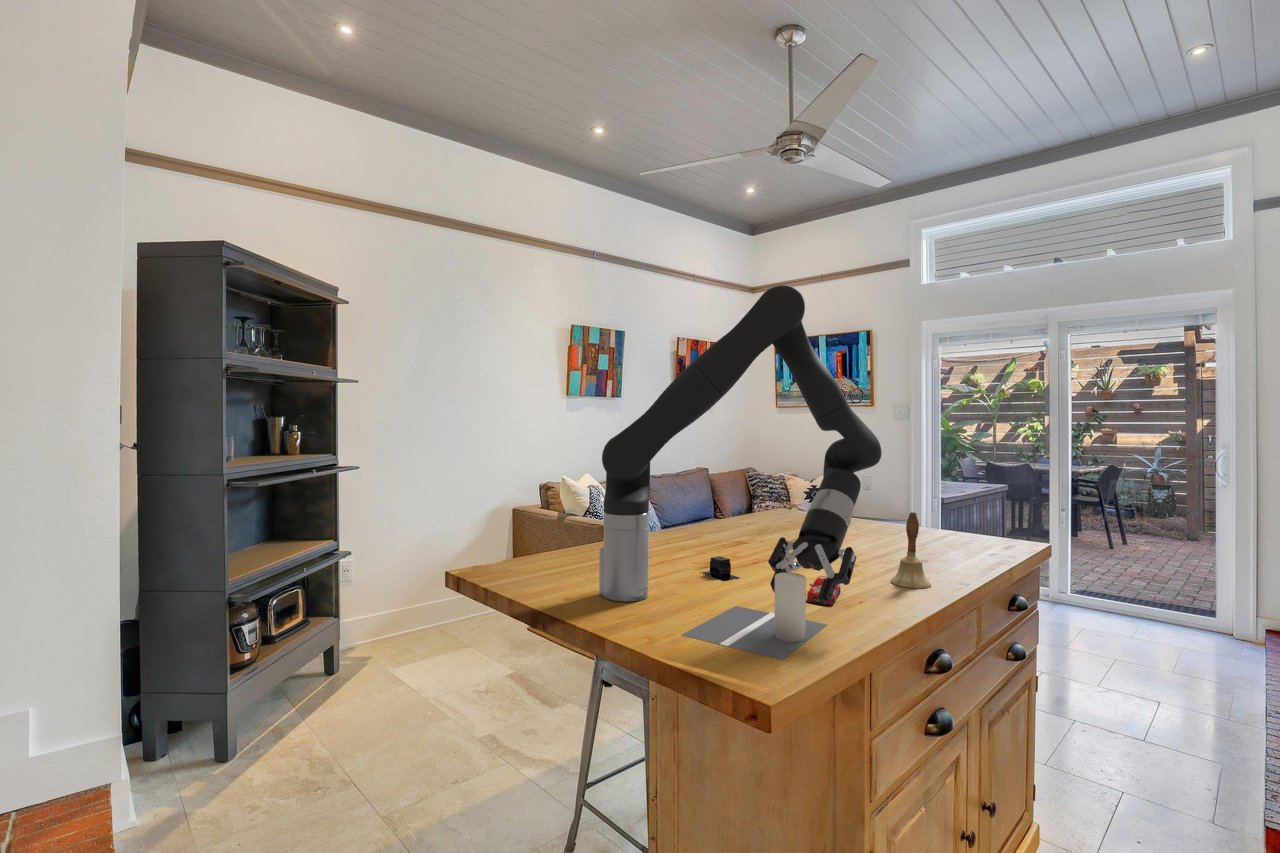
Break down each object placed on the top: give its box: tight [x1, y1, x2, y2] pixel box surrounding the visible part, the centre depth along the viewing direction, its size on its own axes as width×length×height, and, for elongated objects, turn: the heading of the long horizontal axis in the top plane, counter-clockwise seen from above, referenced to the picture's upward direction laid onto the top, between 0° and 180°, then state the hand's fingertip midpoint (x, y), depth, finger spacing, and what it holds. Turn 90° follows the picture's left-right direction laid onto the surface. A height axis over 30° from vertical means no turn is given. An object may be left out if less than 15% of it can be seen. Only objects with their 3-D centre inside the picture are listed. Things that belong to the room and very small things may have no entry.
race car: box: [806, 575, 841, 606], centre depth 128 cm, size 13×5×4 cm, turn 153°
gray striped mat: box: [681, 605, 829, 661], centre depth 107 cm, size 18×20×1 cm
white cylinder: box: [774, 572, 807, 642], centre depth 103 cm, size 5×5×10 cm
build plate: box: [699, 555, 741, 582], centre depth 145 cm, size 12×7×5 cm, turn 32°
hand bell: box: [890, 511, 932, 590], centre depth 139 cm, size 8×8×16 cm
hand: (797, 596), depth 105 cm, fingers open, 8 cm apart
